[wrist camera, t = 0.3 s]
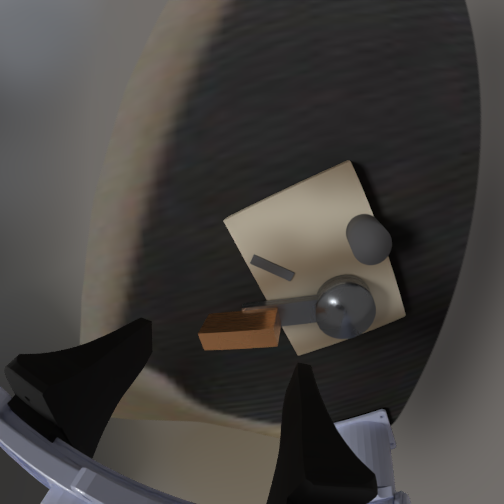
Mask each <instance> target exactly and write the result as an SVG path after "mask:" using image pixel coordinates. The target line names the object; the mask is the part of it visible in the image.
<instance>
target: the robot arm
mask: <svg viewBox="0 0 504 504" xmlns="http://www.w3.org/2000/svg"><path fill="white" fill-rule="evenodd" d="M151 353H152V321H149V320H146V319H143V318H139V319H137V320H135V321H133V322H131V323H129V324H127V325H125V326H124V327H122V328H120V329H118V330H116V331H114V332H112V333H110V334H107V335H105V336H103V337H101V338H98V339H96V340H94V341H91V342H89V343H86V344H83V345H80V346H77V347H73V348H70V349H65V350H61V351H56V352H50V353H42V354H19V355H18V356H17V357H16V358H15V359H14V360H12V361H11V362H10V363H9V364H8V365H7V366H6V367H5V369H4V371H5V375H6V378H7V380H8V382H9V384H10V385H11V387H12V389H13V391H14V393H15V396H14V397H13V398H12V397H11V396H10V395H9V394H8V393H7V392H6V391H5V390H4V389H3V388H2V387H1V386H0V447H1V448H2V449H3V450H5V452H7V453H8V454H9V455H10V456H11V457H12V458H13V459H14V460H15V461H16V462H17V463H18V464H20V465H21V466H22V467H23V468H24V469H25V470H26V471H28V472H29V473H30V474H31V475H32V476H34V477H35V478H36V479H37V480H38V481H40V482H41V483H42V484H44V485H45V486H46V487H47V488H49V489H50V490H49V492H48V493H47V494H46V496H45V497H44V499H43V501H42V502H41V504H196V503H192V502H189V501H186V500H183V499H180V498H177V497H174V496H172V495H169V494H166V493H164V492H160V491H158V490H156V489H153V488H151V487H148V486H146V485H144V484H141V483H139V482H137V481H135V480H132V479H130V478H128V477H126V476H124V475H122V474H120V473H118V472H116V471H114V470H112V469H110V468H108V467H106V466H104V465H102V464H100V463H99V462H97V461H95V460H93V459H92V458H93V455H94V453H95V450H96V448H97V445H98V443H99V440H100V438H101V436H102V433H103V431H104V429H105V427H106V425H107V423H108V421H109V419H110V417H111V415H112V413H113V412H114V410H115V408H116V406H117V404H118V403H119V401H120V399H121V398H122V396H123V395H124V394H125V392H126V391H127V390H128V388H129V387H130V386H131V384H132V383H133V382H134V380H135V379H136V377H137V376H138V375H139V373H140V372H141V371H142V369H143V368H144V366H145V364H146V363H147V361H148V359H149V357H150V355H151ZM395 447H396V442H395V439H394V436H393V432H392V429H391V426H390V422H389V419H388V416H387V413H386V410H385V409H380V410H377V411H374V412H371V413H368V414H364V415H361V416H358V417H354V418H351V419H347V420H343V421H340V422H336V423H333V421H332V419H331V418H330V416H329V413H328V411H327V409H326V407H325V405H324V403H323V400H322V398H321V395H320V392H319V390H318V387H317V384H316V381H315V378H314V374H313V371H312V367H311V366H310V365H307V364H302V363H297V365H296V368H295V370H294V373H293V375H292V378H291V380H290V383H289V385H288V388H287V390H286V394H285V399H284V405H283V411H282V424H281V436H280V448H279V454H278V459H277V464H276V469H275V473H274V477H273V481H272V485H271V489H270V493H269V496H268V500H267V504H411V501H410V498H409V495H408V494H406V493H404V492H403V491H400V492H396V490H395V482H394V472H393V464H392V456H391V449H394V448H395Z"/></svg>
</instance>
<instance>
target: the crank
mask: <svg viewBox="0 0 504 504" xmlns="http://www.w3.org/2000/svg"><path fill="white" fill-rule="evenodd" d="M375 315H376V305H375V302H374V299H373V297H372V294H371V291H370V289H369V287H368V285H367V284H366V283H365V282H364V281H363V280H362V279H360V278H358V277H356V276H353V275H338V276H335V277H333V278H330V279H329V280H327V281H326V282H325V283H324V284H323V285H322V286H321V287H320V288H319V290H318V292H317V295H310V296H302V297H295V298H287V299H278V300H270V301H261V302H252V303H244V304H243V306H242V311H236V312H225V313H213V314H209V315H208V317H207V319H206V321H205V322H204V324H203V326H202V328H201V329H200V331H199V333H198V335H199V338H200V340H201V343H202V345H203V348H204V350H225V349H245V348H261V347H274V346H278V340H279V334H280V328H281V326H290V325H299V324H308V323H316V322H317V324H318V326H319V328H320V329H321V330H322V331H323V332H324V333H325V334H326V335H328V336H330V337H333V338H337V339H349V338H353V337H356V336H358V335H360V334H362V333H363V332H365V331H366V330H367V329H368V328H369V327H370V326H371V324H372V323H373V321H374V319H375Z"/></svg>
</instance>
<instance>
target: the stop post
mask: <svg viewBox="0 0 504 504" xmlns="http://www.w3.org/2000/svg"><path fill="white" fill-rule="evenodd" d="M346 237H347V240H348V243H349V245H350V247H351V250H352V252H353V255H354V256H355V258H356V259H357V260H358V261H359V262H360V263H362V264H365V265H376V264H379V263H381V262H382V261H384V260H385V259H386V258H387V257H388V255H389V254H390V251H391V248H392V239H391V236H390V234H389V232H388V231H387V230H386V229H385V228H384V227H383V226H382V224H381V223H380V222H379V221H378V220H377V219H376V218H375V217H373V216H372V215H369V214H360V215H357V216H355V217H354V218H352V219H351V220H350V222H349V223H348V225H347V228H346Z"/></svg>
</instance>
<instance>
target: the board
mask: <svg viewBox="0 0 504 504" xmlns="http://www.w3.org/2000/svg"><path fill="white" fill-rule="evenodd" d="M360 214H369V215H372V216H373V213H372V210H371V208H370V205H369V203H368V200H367V198H366V196H365V193H364V191H363V188H362V186H361V184H360V181H359V179H358V177H357V175H356V172H355V170H354V168H353V166H352V164H351V161H349V160H347V161H345V162H343V163H341V164H338V165H336V166H334V167H332V168H329V169H327V170H325V171H323V172H321V173H318V174H316V175H314V176H312V177H310V178H307V179H305V180H303V181H301V182H299V183H297V184H295V185H292V186H290V187H288V188H286V189H284V190H282V191H280V192H278V193H276V194H273V195H271V196H269V197H267V198H265V199H263V200H261V201H259V202H257V203H255V204H253V205H251V206H249V207H247V208H245V209H243V210H241V211H239V212H237V213H235V214H233V215H231V216H229V217H227V218H226V219H225V220H224V223H225V225H226V227H227V228H228V230H229V232H230V234H231V236H232V238H233V239H234V241H235V243H236V245H237V247H238V248H239V250H240V252H241V254H242V256H243V258H244V259H245V261H246V263H247V265H248V267H249V268H250V270H251V272H252V274H253V276H254V278H255V279H256V281H257V283H258V285H259V287H260V288H261V290H262V292H263V294H264V296H265V297H266V299H267V301H270V300H278V299H287V298H295V297H302V296H310V295H317V292H318V290H319V288H320V287H321V286H322V285H323V284H324V283H325V282H326V281H327V280H329V279H330V278H333V277H335V276H338V275H353V276H356V277H358V278H360V279H362V280H363V281H364V282H365V283H366V284H367V285H368V287H369V289H370V291H371V294H372V297H373V299H374V302H375V305H376V315H375V319H374V321H373V323H372V324H371V326H370V327H369V328H368V329H367V330H366V331H365V332H368V331H371V330H373V329H376V328H378V327H381V326H383V325H386V324H388V323H390V322H393V321H395V320H398V319H400V318H402V317H405V316H406V314H405V311H404V307H403V303H402V300H401V296H400V293H399V289H398V286H397V282H396V279H395V276H394V273H393V269H392V266H391V263H390V260H389V257H387V258H386V259H385V260H384V261H382V262H381V263H379V264H376V265H365V264H362V263H360V262H359V261H358V260H357V259H356V258H355V256H354V255H353V252H352V250H351V247H350V245H349V243H348V240H347V237H346V228H347V225H348V223H349V222H350V220H351V219H352V218H354V217H355V216H357V215H360ZM373 217H374V216H373ZM282 328H283V330H284V331H285V333H286V335H287V337H288V339H289V340H290V342H291V344H292V346H293V347H294V349H295V351H296V353H297V355H302V354H305V353H308V352H311V351H314V350H317V349H320V348H323V347H326V346H329V345H332V344H335V343H338V342H341V341H344V340H347V339H337V338H333V337H330V336H328V335H326V334H325V333H324V332H323V331H322V330H321V329H320V328H319V326H318V324H317V322H316V323H308V324H299V325H290V326H282ZM365 332H363V333H365ZM363 333H362V334H363Z"/></svg>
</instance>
